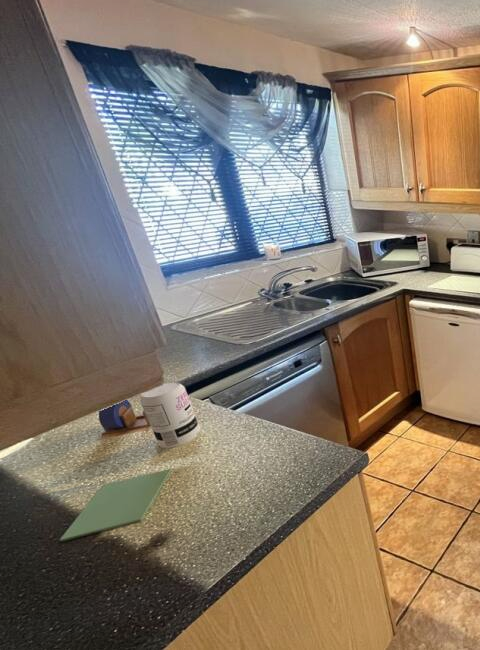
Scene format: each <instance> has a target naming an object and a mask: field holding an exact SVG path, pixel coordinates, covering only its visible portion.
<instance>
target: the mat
mask: <svg viewBox="0 0 480 650" xmlns="http://www.w3.org/2000/svg"><path fill="white" fill-rule="evenodd" d="M171 472H172V469H171V468H169V469H165V470H160V471H155V472H152V473H147V474H143V475H139V476H134V477H129V478H126V479H121V480H116V481H112V482H109V483H104V484H102V485H101V486H100V487H99V489H98V490H97V491H96V493H95V494H94V495H93V496H92V498H91V499H90V500H89V502H88V503H87V504H86V505H85V506H84V508H83V509H82V510H81V512H80V513H79V514H78V515H77V517H76V518H75V519H74V521H73V522H72V523H71V524H70V525H69V527H68V528H67V530H66V531H65V532H64V534H62V536H61V537H60V539H59V542H60V543H62V542H65V541H69V540H73V539H77V538H80V537H84V536H89V535H92V534H96V533H97V534H98V533H100V532H103V531H104V532H105V531H107V530H112V529H116V528H119V527H124V526H127V525H130V524H134V523H135V524H136V523H139V522H142V521H143V519H144V518H145V516H146V515H147V512H148V511H149V508H151V506H152V504H153V502H154V501H155V499H156V497H157V495H158V494H159V492H160V491H161V488H162V487H163V486H164V484H165V482H166V481H167V479H168V477H169V476H170V474H171Z"/></svg>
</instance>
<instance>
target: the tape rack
mask: <svg viewBox="0 0 480 650" xmlns="http://www.w3.org/2000/svg"><path fill="white" fill-rule="evenodd" d="M122 419H123V421H124V423H125V425H126V427H124V428H118V429H113V430H106V429H104V428H103V429H104V432H101V436H100V437H99V438H98V440H99V441H100V440H104V439H108V438H113V437H118V436H124V435H129V434H135V433H139V432H144V431H148V430H149V429H150V428H151V425H150V423H149V421H148V419H147V416H146V414H145V412H144V410H143V411H142V413H141V414H135V411H134V409H133V407H132V406H131V407H129V408H128V409H127V410H126V412H125V413H124V414H123V415H122Z"/></svg>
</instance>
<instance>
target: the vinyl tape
mask: <svg viewBox="0 0 480 650" xmlns="http://www.w3.org/2000/svg"><path fill="white" fill-rule="evenodd" d="M129 407H132V404H131V403H130V401H129V400H128V399H126V400H125V401H123V402H121V403H119V404H116V405H113V406H112V407H109V408H107V409H104V410H102V411H98V420H99V423H100V426H101V427H102V428H103V429H106V430H113V429H118V428H124V427H126V425H125V423H124V421H123V419H122V415H123V414H124V413H125V412H126V410H127V409H128V408H129Z"/></svg>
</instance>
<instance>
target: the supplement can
mask: <svg viewBox="0 0 480 650" xmlns="http://www.w3.org/2000/svg"><path fill="white" fill-rule="evenodd" d="M163 382H164V384H163V386H161V387H158V388H155V389H153V390H151V391H148V392H145V393H142V392H141V395H140V400H139V402H140V405H141V407H142V409H143V411H144V412H145V414H146V416H147V419H148V421H149V423H150V425H151V426H150V428H151V430H152V433H153V435H154V437H155V439H156V441H157V444H158V446H159V447H160V448H163V449H170V448H171V449H172V448H176V447H179V446H181V445H182V446H183V445H185V444H187V443H189V442H191V441H192V440H194V439H195V438H196V437H197V436H198V435H199V434H200V433H201V426H200V423H199V421H198V419H197V416H196V413H195V410H194V408H193V405H192V403H191V400H190V398H189V395H188V392H187V389H186V387H185V386H184V385H183V384H181V383H180V382H179V381H175V380H169V381H168V380H167V381H163Z"/></svg>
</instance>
